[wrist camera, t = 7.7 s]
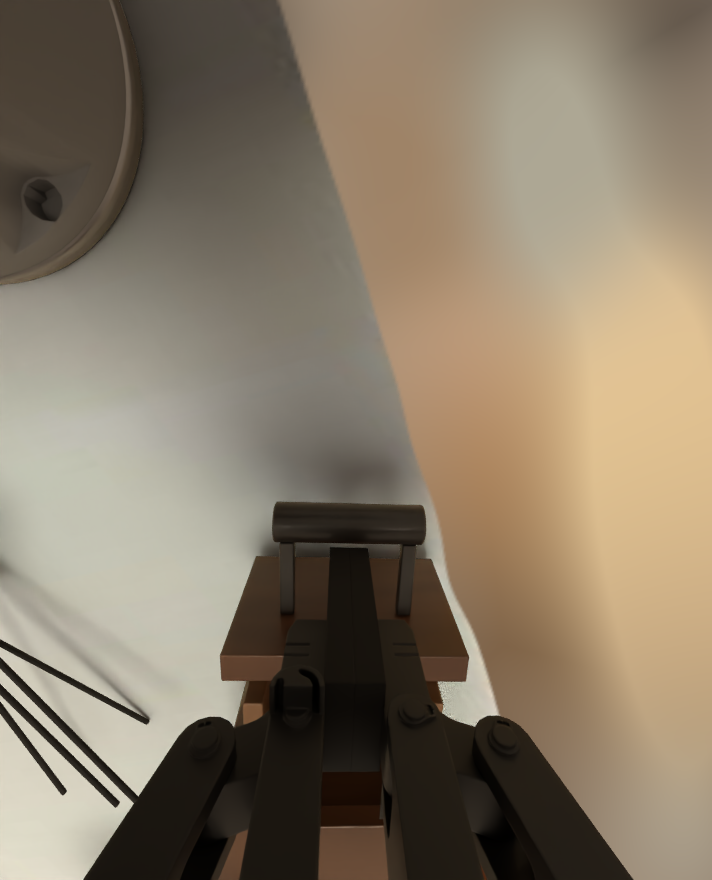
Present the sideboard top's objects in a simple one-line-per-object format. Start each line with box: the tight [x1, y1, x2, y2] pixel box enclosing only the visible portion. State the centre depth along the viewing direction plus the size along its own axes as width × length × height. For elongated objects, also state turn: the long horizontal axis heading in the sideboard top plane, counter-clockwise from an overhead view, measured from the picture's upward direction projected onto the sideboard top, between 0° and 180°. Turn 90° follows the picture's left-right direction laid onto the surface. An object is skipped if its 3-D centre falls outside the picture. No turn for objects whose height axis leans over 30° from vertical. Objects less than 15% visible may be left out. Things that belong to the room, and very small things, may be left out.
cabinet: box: [218, 681, 388, 880], centre depth 22 cm, size 12×11×9 cm
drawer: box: [220, 502, 469, 806], centre depth 19 cm, size 16×9×7 cm, turn 177°
